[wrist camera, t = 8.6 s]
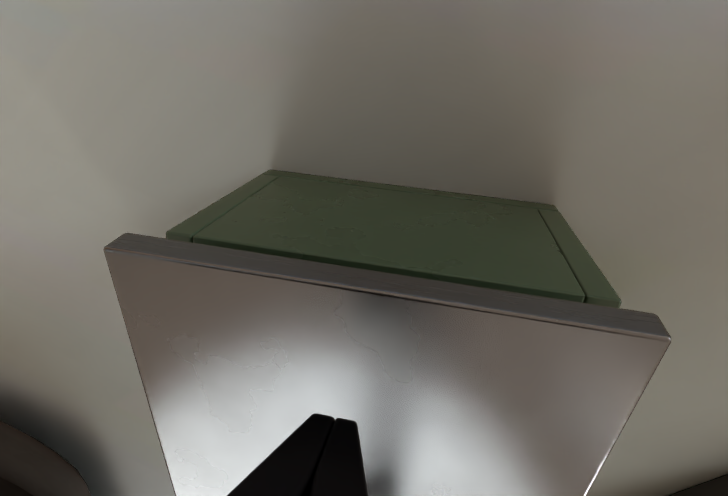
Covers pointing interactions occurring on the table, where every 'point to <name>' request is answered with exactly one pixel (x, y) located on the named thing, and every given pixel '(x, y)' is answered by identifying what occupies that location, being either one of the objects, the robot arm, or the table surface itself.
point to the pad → (708, 488)
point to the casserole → (35, 468)
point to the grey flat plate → (376, 370)
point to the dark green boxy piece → (405, 234)
